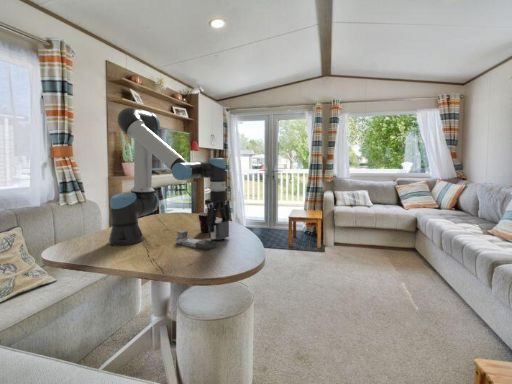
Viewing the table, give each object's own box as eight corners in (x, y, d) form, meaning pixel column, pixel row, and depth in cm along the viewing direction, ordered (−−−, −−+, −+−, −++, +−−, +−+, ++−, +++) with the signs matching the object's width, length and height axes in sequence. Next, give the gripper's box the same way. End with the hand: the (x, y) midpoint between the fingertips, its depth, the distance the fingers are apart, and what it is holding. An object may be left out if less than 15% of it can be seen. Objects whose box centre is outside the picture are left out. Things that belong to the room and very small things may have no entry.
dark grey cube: (208, 237, 140) (208, 221, 139) (218, 234, 146) (217, 219, 145) (219, 239, 136) (219, 223, 136) (228, 236, 142) (228, 220, 141)
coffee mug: (213, 233, 152) (212, 215, 151) (197, 234, 152) (196, 215, 151) (217, 228, 164) (216, 211, 163) (202, 228, 164) (201, 211, 163)
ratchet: (173, 243, 137) (173, 232, 136) (183, 240, 142) (182, 229, 141) (206, 250, 124) (206, 238, 124) (216, 247, 129) (215, 235, 129)
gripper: (209, 193, 128) (210, 242, 131) (237, 188, 144) (237, 233, 147) (197, 191, 132) (198, 240, 135) (225, 187, 149) (226, 231, 151)
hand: (219, 236), depth 141 cm, fingers closed on dark grey cube, 7 cm apart
